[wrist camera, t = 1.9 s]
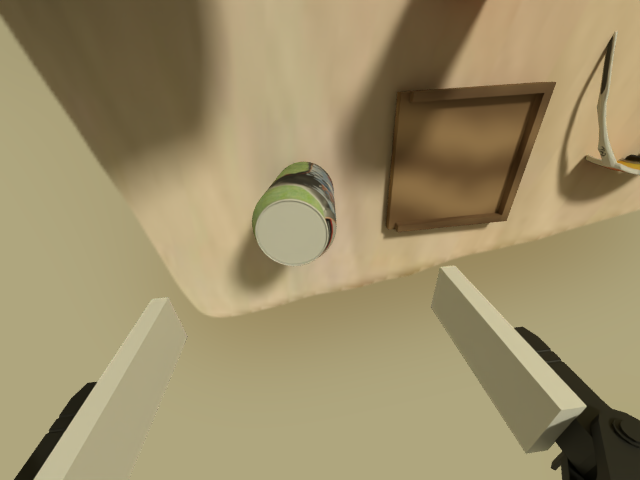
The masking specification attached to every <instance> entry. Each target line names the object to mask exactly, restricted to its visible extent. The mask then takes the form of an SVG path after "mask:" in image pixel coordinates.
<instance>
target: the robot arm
mask: <svg viewBox="0 0 640 480" xmlns="http://www.w3.org/2000/svg"><path fill="white" fill-rule="evenodd" d="M431 308H432V310H433V311H434V313H435V314H436V316H437V317H438V319H439V320H440V322H441V323H442V325H443V327H444V328H445V330H446V331H447V333H448V334H449V336H450V337H451V339H452V340H453V342H454V344H455V345H456V347H457V348H458V350H459V351H460V353H461V354H462V356H463V357H464V359H465V360H466V362H467V364H468V365H469V367H470V368H471V370H472V371H473V373H474V374H475V376H476V377H477V379H478V380H479V382H480V384H481V385H482V387H483V388H484V390H485V391H486V393H487V394H488V396H489V397H490V399H491V401H492V402H493V404H494V405H495V407H496V408H497V410H498V411H499V413H500V414H501V416H502V417H503V419H504V421H505V422H506V424H507V425H508V427H509V428H510V430H511V431H512V433H513V434H514V436H515V437H516V439H517V441H518V442H519V444H520V445H521V447H522V448H523V450H524V451H525V453H532V452H538V451H545V450H548V449H549V448H550V447H551V446H552V445H553V444H554V442H556V443H557V444H558V446H559V447H560V448H561V449H562V452H561V453H560V454H559V455H558V456H557V457H556V458H555V459H554V461H553V462H552V465H551V468H552V469H553V470H556V469H557V468H558V467H559V466H560V465H561V470H562V480H640V421H639V420H638V419H636V418H634V417H632V416H630V415H628V414H627V413H624V412H621V411H617V410H614V409H612V408H610V407H609V406H608V405H607V404H606V403H605V402H603V401H602V400H601V399H600V398H599V397H598V396H597V395H596V394H595V393H594V392H593V391H592V390H591V389H590V388H589V387H588V386H587V385H586V384H585V383H584V382H583V381H582V380H581V379H580V378H579V377H578V376H577V375H576V374H575V373H574V372H573V371H572V370H571V369H570V368H569V367H568V366H567V365H566V364H565V363H564V362H562V361H561V359H560V358H559V357H558V356H557V355H556V354H555V353H554V352H552V351H551V350H550V348H549V347H548V346H547V345H546V344H545V343H544V342H543V341H542V340H541V339H540V338H539V337H538V336H536V335H535V334H533V333H532V332H530V331H528V330H527V329H525V328H524V327H516V328H513V327H512V326H511V325H510V324H509V323H508V322H507V320H506V319H505V318H503V316H502V315H500V313H499V312H498V311H497V310H496V309H495V308H494V307H493V306H492V305H491V303H490V302H489V301H488V300H487V299H486V298H485V297H484V296H483V295H482V294H481V293H480V292H479V291H478V290H477V289H476V287H474V285H473V284H472V283H471V282H470V281H469V280H468V279H467V278H466V277H465V276H464V275H463V274H462V273H461V272H460V271H459V269H458V268H457V267H456V266H446V267H440V269H439V274H438V278H437V283H436V287H435V292H434V296H433V301H432V305H431ZM186 339H187V334H186V332H185V330H184V328H183V326H182V324H181V322H180V320H179V317H178V315H177V314H176V311H175V309H174V307H173V305H172V303H171V301H170V299H169V297H166V298H157V299H152V300H151V301H150V303H149V304H148V306H147V307H146V309H145V310H144V312H143V314H142V315H141V316H140V318H139V320H138V321H137V322H136V324H135V326H134V327H133V329H132V330H131V332H130V333H129V335H128V336H127V338H126V339H125V341H124V342H123V344H122V345H121V347H120V349H119V350H118V352H117V353H116V355H115V356H114V358H113V359H112V361H111V362H110V364H109V365H108V367H107V368H106V370H105V372H104V373H103V374H102V376H101V378H100V379H99V380H98V382H92V383H87V384H86V385H85V386H84V387H83V388H82V389H81V390H80V391H79V392H78V393H76V394H75V395H74V396H73V397H72V398H71V400H70V401H69V402H68V404H67V406H66V407H65V408H64V410H63V411H62V412H61V414H60V416H59V418H58V419H56V421H55V422H54V424H53V425H52V426H51V428H50V429H49V433H48V434H46V435H45V436H44V438H43V439H42V441H41V442H40V444H39V445H38V447H37V448H36V450H35V451H34V452H33V453H32V455H31V456H30V458H29V459H28V461H27V462H26V464H25V465H24V466H23V468H22V469H21V471H20V472H19V473H18V475H17V476H16V478H15V479H14V480H129V477H130V475H131V473H132V470H133V468H134V466H135V463H136V461H137V458H138V456H139V453H140V451H141V449H142V446H143V444H144V441H145V439H146V437H147V434H148V432H149V429H150V427H151V424H152V422H153V419H154V417H155V415H156V412H157V410H158V407H159V405H160V402H161V400H162V398H163V395H164V393H165V390H166V388H167V385H168V383H169V381H170V378H171V375H172V373H173V371H174V368H175V366H176V363H177V361H178V359H179V356H180V354H181V351H182V349H183V346H184V344H185V342H186Z"/></svg>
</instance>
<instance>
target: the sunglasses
mask: <svg viewBox="0 0 640 480" xmlns="http://www.w3.org/2000/svg"><path fill="white" fill-rule="evenodd" d="M616 38H617V31H615V33H614V35H613V36H612V38H611V40H610V42H609V44H608V46H607V49H606V54H605V61H604V67H603V74H602V81H601V88H600V94H599V99H598V104H597V112H598V122H599V143H598V150H599V152H600V155H601V158H602V160H601V159H597V158H595V157H592V156H590V155H587V156H586V160H588V161H590V162H592V163H595V164H598V165H601V166H603V167H606V168H609V169H612V170H617V171H623V172H627V173H630V174H634V175H640V156H636V155H629V156H627V157H626V158H625V159H619V160H618V161H616V159H615V156H614V153H613V151H612V148H611V145H610V142H609V138H608V133H607V127H606V103H607V99H608V94H609V88H610V80H611V72H612V64H613V57H614V50H615V44H616Z"/></svg>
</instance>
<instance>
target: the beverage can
mask: <svg viewBox="0 0 640 480" xmlns="http://www.w3.org/2000/svg"><path fill="white" fill-rule="evenodd" d="M252 227H253V232H254V235H255V238H256V240H257V242H258V245H259V247H260V248H261V250H262V251H263V252H264V253H265V255H267V256H268V257H269V258H270V259H272V260H273V261H275V262H277V263H280V264H283V265H287V266H301V265H305V264H308V263H310V262H312V261H314V260H315V259H317V258H318V257H320V256H321V255H322V254H323V253H325V252H326V250H327V249H328V248H329V247H330V245H331V244H332V242H333V240H334V237H335V233H336V213H335V201H334V189H333V184H332V181H331V178H330V177H329V175H328V174H327V173H326V171H325V170H324V169H322V168H321V167H320V166H318V165H316V164H313V163H310V162H298V163H294V164H292V165H289V166H288V167H286V168H285V169H284V170H283V171H282V172H281V173H280V175H279V176H278V177H277V178H276V180H275V181H274V182H273V184H272V185H271V186H270V187H269V189H268V190H267V191H266V192H265V194H264V195H263V196H262V197H261V199H260V200H259V202H258V203H257V205H256V207H255V209H254V212H253V217H252Z"/></svg>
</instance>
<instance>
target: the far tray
mask: <svg viewBox="0 0 640 480" xmlns="http://www.w3.org/2000/svg"><path fill="white" fill-rule="evenodd" d="M555 84H556V82H536V83H522V84H507V85H492V86H478V87H463V88H448V89H434V90H419V91H404V92H397V103H396V114H395V125H394V137H393V148H392V160H391V171H390V182H389V194H388V205H387V217H386V227H387V228H388V229H396V231H397V232H402V231H412V230H422V229H432V228H441V227H451V226H461V225H471V224H480V223H490V222H500V221H507V218H508V215H509V212H510V209H511V207H512V204H513V201H514V198H515V196H516V193H517V190H518V187H519V184H520V182H521V179H522V176H523V173H524V171H525V168H526V165H527V162H528V159H529V157H530V154H531V151H532V148H533V146H534V143H535V140H536V137H537V134H538V132H539V129H540V126H541V123H542V121H543V118H544V115H545V112H546V109H547V107H548V104H549V101H550V98H551V96H552V93H553V90H554V87H555Z"/></svg>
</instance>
